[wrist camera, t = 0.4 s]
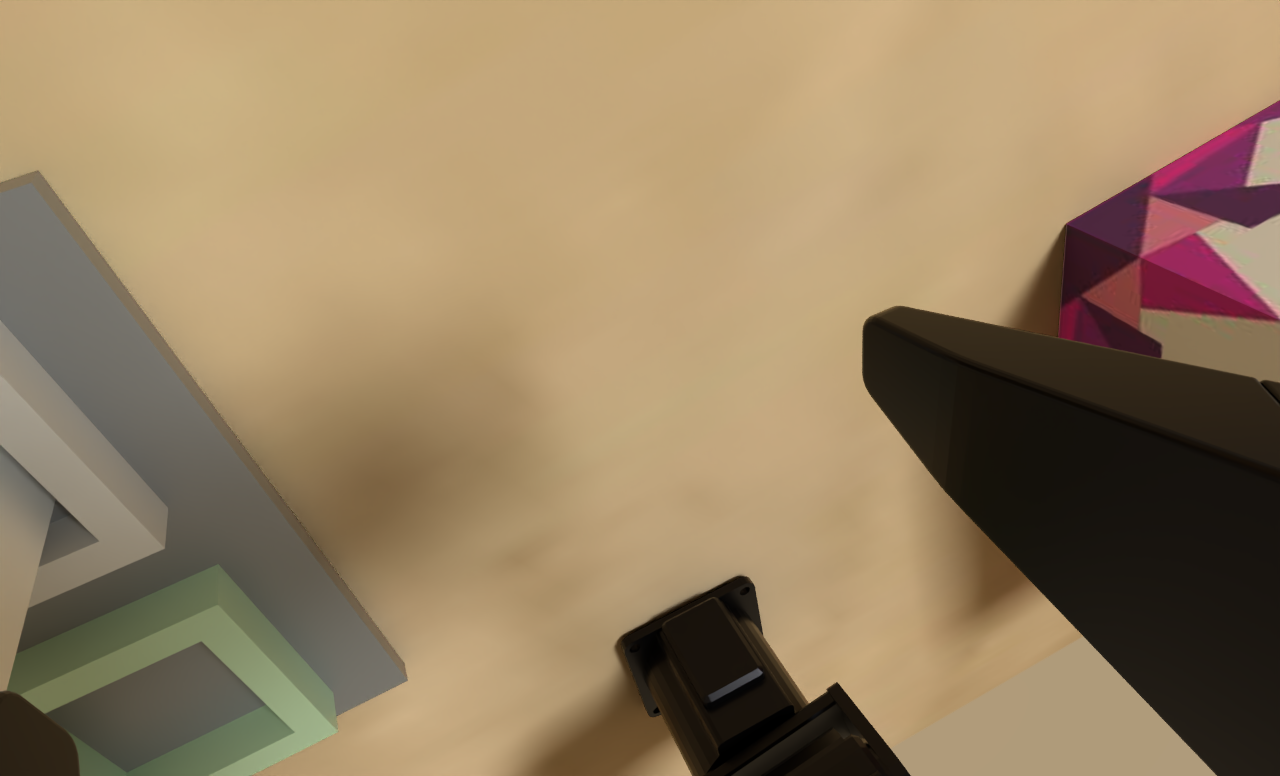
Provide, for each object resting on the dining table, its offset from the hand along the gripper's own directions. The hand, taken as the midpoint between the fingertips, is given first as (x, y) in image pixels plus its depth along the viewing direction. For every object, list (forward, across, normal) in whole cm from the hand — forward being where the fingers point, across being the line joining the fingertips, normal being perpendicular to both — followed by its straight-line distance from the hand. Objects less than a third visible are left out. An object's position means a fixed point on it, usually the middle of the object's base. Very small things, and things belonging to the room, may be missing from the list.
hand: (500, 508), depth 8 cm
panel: (+14, +12, +9) cm, 20 cm away
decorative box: (+14, -35, +20) cm, 43 cm away
